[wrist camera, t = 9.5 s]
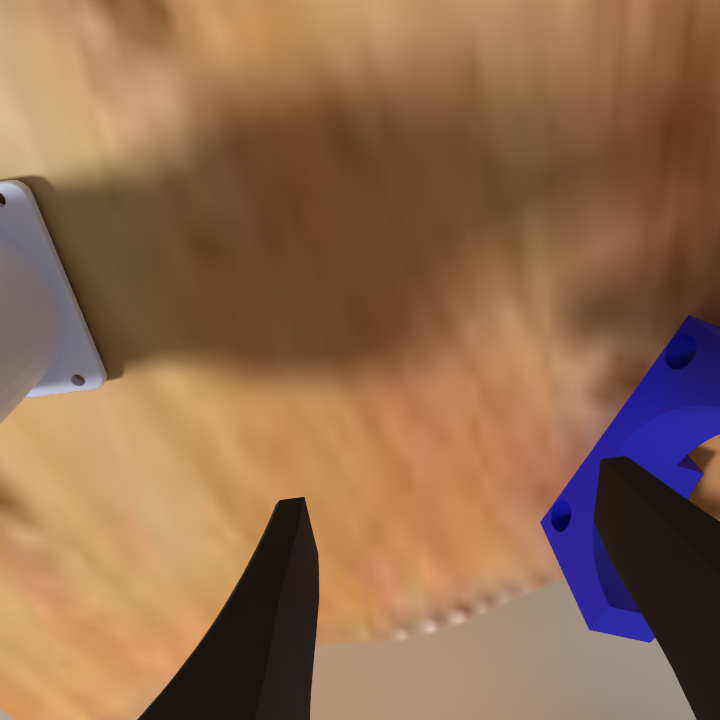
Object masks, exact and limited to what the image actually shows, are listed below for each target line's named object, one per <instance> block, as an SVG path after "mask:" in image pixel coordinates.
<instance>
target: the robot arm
mask: <svg viewBox="0 0 720 720" xmlns="http://www.w3.org/2000/svg"><path fill="white" fill-rule="evenodd" d="M0 193H1V194H2V195H3V196H4V197H5V200H6V204H5V205H3V204H1V203H0V424H1V423H2V422H3V421H4V419H5V418H6V417H7V416H8V415H9V414H10V413H11V412H12V411H13V410H14V409H15V408H16V406H17V405H18V404H19V403H20V402H21V401H22V400H23V399H24V398H29V397H37V396H44V395H52V394H60V393H68V392H75V391H83V390H91V389H97V388H100V387H101V386H102V385H103V384H104V383H105V381H106V379H107V373H106V371H105V368H104V366H103V363H102V361H101V358H100V356H99V354H98V351H97V349H96V346H95V344H94V341H93V339H92V337H91V334H90V332H89V329H88V327H87V324H86V322H85V320H84V317H83V315H82V312H81V310H80V308H79V305H78V303H77V300H76V298H75V295H74V293H73V291H72V288H71V286H70V283H69V281H68V278H67V276H66V274H65V271H64V269H63V266H62V264H61V261H60V259H59V257H58V254H57V252H56V249H55V247H54V244H53V242H52V240H51V237H50V235H49V232H48V230H47V228H46V225H45V223H44V220H43V218H42V215H41V213H40V211H39V208H38V206H37V203H36V201H35V198H34V196H33V194H32V192H31V190H30V189H29V187H28V186H27V185H25V184H24V183H23V182H20V181H18V180H5V181H0ZM75 375H80V376H82V377H83V378H84V379H85V381H81V380H79V379H77V377H76V376H75ZM593 521H594V523H595V526H596V528H597V531H598V533H599V535H600V538H601V540H602V543H603V545H604V547H605V549H606V552H607V554H608V556H609V558H610V561H611V562H612V564H613V566H614V568H615V569H616V571H617V573H618V575H619V576H620V578H621V580H622V582H623V583H624V585H625V587H626V588H627V590H628V592H629V594H630V595H631V597H632V599H633V600H634V602H635V604H636V605H637V607H638V609H639V611H640V612H641V614H642V616H643V617H644V619H645V621H646V622H647V624H648V626H649V628H650V629H651V631H652V633H653V634H654V636H655V638H656V639H657V641H658V643H659V644H660V646H661V648H662V650H663V652H664V653H665V655H666V657H667V659H668V661H669V662H670V665H671V666H672V668H673V670H674V672H675V674H676V677H677V679H678V681H679V683H680V685H681V687H682V689H683V691H684V694H685V696H686V698H687V700H688V702H689V704H690V706H691V709H692V710H693V713H694V715H695V717H696V719H697V720H720V522H719V521H718V520H716V519H715V518H713V517H712V516H710V515H709V514H707V513H706V512H704V511H703V510H702V509H700V508H699V507H697V506H696V505H694V504H693V503H691V502H690V501H689V500H687V499H686V498H684V497H683V496H681V495H680V494H679V493H677V492H676V491H674V490H673V489H672V488H670V487H669V486H668V485H666V484H665V483H663V482H662V481H661V480H659V479H658V478H656V477H655V476H654V475H652V474H651V473H650V472H648V471H647V470H646V469H644V468H643V467H641V466H640V465H639V464H637V463H636V462H634V461H633V460H632V459H630V458H629V457H627V456H620V457H612V458H604V459H601V460H600V468H599V476H598V485H597V493H596V502H595V510H594V519H593ZM318 605H319V561H318V552H317V547H316V543H315V539H314V535H313V531H312V527H311V522H310V518H309V514H308V510H307V506H306V502H305V497H300V498H292V499H285V500H279V502H278V503H277V504H276V506H275V508H274V511H273V513H272V516H271V518H270V520H269V523H268V525H267V527H266V529H265V531H264V534H263V536H262V538H261V540H260V542H259V544H258V546H257V548H256V550H255V552H254V554H253V556H252V558H251V560H250V561H249V563H248V565H247V567H246V569H245V571H244V573H243V575H242V577H241V578H240V580H239V582H238V583H237V585H236V587H235V589H234V590H233V592H232V594H231V595H230V597H229V599H228V600H227V602H226V604H225V605H224V607H223V609H222V610H221V612H220V613H219V615H218V616H217V618H216V620H215V621H214V623H213V624H212V626H211V627H210V629H209V630H208V632H207V633H206V634H205V636H204V637H203V639H202V640H201V642H200V643H199V644H198V646H197V647H196V649H195V650H194V651H193V653H192V654H191V655H190V657H189V658H188V659H187V660H186V662H185V663H184V664H183V666H182V667H181V668H180V670H179V671H178V672H177V674H176V675H175V676H174V677H173V679H172V680H171V681H170V682H169V684H168V685H167V686H166V687H165V688H164V690H163V691H162V692H161V693H160V694H159V696H158V697H157V698H156V699H155V700H154V701H153V702H152V704H151V705H150V706H149V707H148V708H147V709H146V710H145V711H144V713H143V714H142V715H141V716H140V717H139V718H138V719H137V720H310V701H311V700H310V699H311V684H312V674H313V662H314V651H315V640H316V629H317V617H318Z"/></svg>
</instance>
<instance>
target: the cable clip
mask: <svg viewBox="0 0 720 720" xmlns="http://www.w3.org/2000/svg"><path fill="white" fill-rule="evenodd" d="M719 434H720V327H719V326H716V325H713V324H710V323H708V322H705V321H702V320H700V319H697V318H694V317H692V316H689V315H688V317H687V318H686V320H685V321H684V322H683V324H682V325H681V327H680V328H679V329H678V331H677V332H676V334H675V335H674V336H673V338H672V339H671V341H670V342H669V343H668V345H667V346H666V348H665V349H664V350H663V352H662V353H661V354H660V356H659V357H658V359H657V360H656V361H655V363H654V364H653V366H652V367H651V368H650V370H649V371H648V373H647V374H646V375H645V377H644V378H643V380H642V381H641V382H640V384H639V385H638V387H637V388H636V389H635V391H634V392H633V394H632V395H631V396H630V398H629V399H628V401H627V402H626V403H625V405H624V406H623V408H622V409H621V410H620V412H619V413H618V415H617V416H616V417H615V419H614V420H613V422H612V423H611V424H610V426H609V427H608V428H607V430H606V431H605V433H604V434H603V435H602V437H601V438H600V440H599V441H598V442H597V444H596V445H595V447H594V448H593V449H592V451H591V452H590V454H589V455H588V456H587V458H586V459H585V461H584V462H583V463H582V465H581V466H580V468H579V469H578V470H577V472H576V473H575V475H574V476H573V477H572V479H571V480H570V482H569V483H568V484H567V486H566V487H565V489H564V490H563V491H562V493H561V494H560V496H559V497H558V498H557V500H556V501H555V503H554V504H553V505H552V507H551V508H550V509H549V511H548V512H547V514H546V515H545V516H544V518H543V519H542V521H541V522H540V523H541V525H542V527H543V529H544V532H545V534H546V536H547V538H548V540H549V543H550V545H551V547H552V549H553V551H554V554H555V556H556V558H557V560H558V562H559V565H560V567H561V569H562V571H563V573H564V576H565V578H566V580H567V582H568V584H569V587H570V588H571V591H572V593H573V595H574V598H575V600H576V602H577V604H578V606H579V609H580V611H581V613H582V615H583V617H584V619H585V622H586V624H587V626H588V628H589V630H593V631H597V632H602V633H608V634H612V635H616V636H621V637H626V638H630V639H635V640H640V641H645V642H649V643H650V642H651V641H652V640H653V639H654V638H655V636H654V634H653V633H652V631H651V629H650V628H649V626H648V624H647V622H646V621H645V619H644V617H643V616H642V614H641V612H640V611H639V609H638V607H637V605H636V604H635V602H634V600H633V599H632V597H631V595H630V594H629V592H628V590H627V588H626V587H625V585H624V583H623V582H622V580H621V578H620V576H619V575H618V573H617V571H616V569H615V568H614V566H613V564H612V562H611V561H610V558H609V556H608V554H607V552H606V549H605V547H604V545H603V543H602V540H601V538H600V535H599V533H598V531H597V528H596V526H595V523H594V521H593V519H594V510H595V502H596V493H597V485H598V476H599V468H600V460H601V459H604V458H612V457H620V456H627V457H629V458H630V459H632V460H633V461H634V462H636V463H637V464H639V465H640V466H641V467H643V468H644V469H646V470H647V471H648V472H650V473H651V474H652V475H654V476H655V477H656V478H658V479H659V480H661V481H662V482H663V483H665V484H666V485H668V486H669V487H670V488H672V489H673V490H674V491H676V492H677V493H679V494H680V495H681V496H683V497H684V498H686V499H687V500H688V498H689V496H690V494H691V492H692V490H693V489H694V487H695V485H696V484H697V482H698V481H699V480H700V478H701V477H702V476H703V474H704V473H703V472H702V471H701V470H700V469H699V467H698V466H697V465H696V464H695V463H694V462H693V461H692V460H691V459H690V458H689V456H688V455H687V454H688V453H690V452H691V451H692V450H693V449H695V448H696V447H697V446H699V445H700V444H702V443H703V442H705V441H707V440H709V439H710V438H712V437H714V436H717V435H719Z"/></svg>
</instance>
